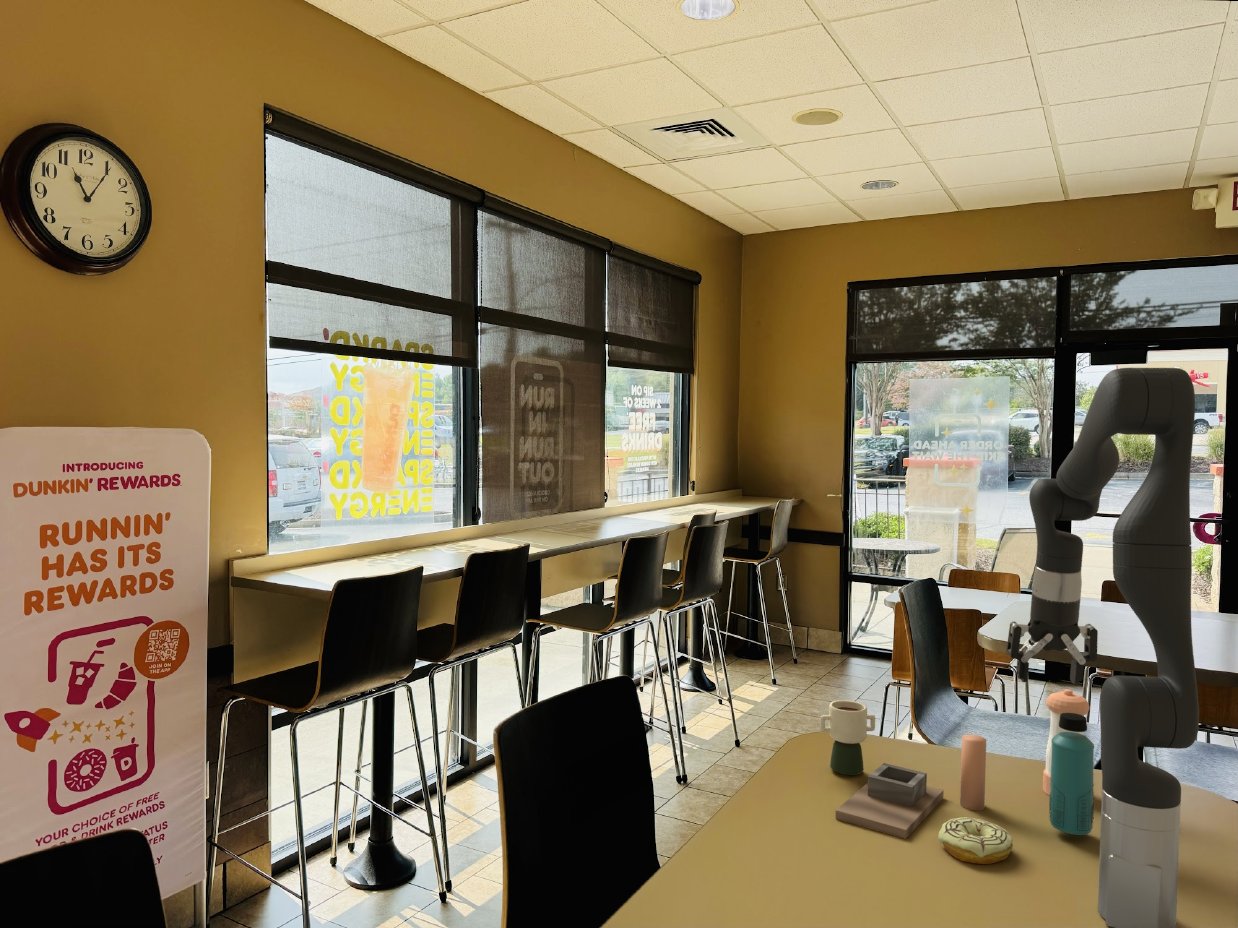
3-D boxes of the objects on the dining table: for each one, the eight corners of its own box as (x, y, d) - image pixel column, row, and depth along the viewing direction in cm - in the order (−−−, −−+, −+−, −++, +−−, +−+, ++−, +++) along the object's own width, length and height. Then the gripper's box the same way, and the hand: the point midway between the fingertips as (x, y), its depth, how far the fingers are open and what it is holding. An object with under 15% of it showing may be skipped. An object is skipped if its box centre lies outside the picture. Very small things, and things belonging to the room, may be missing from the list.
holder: (905, 838, 144) (906, 808, 144) (835, 818, 152) (836, 789, 151) (943, 797, 160) (944, 770, 160) (878, 781, 168) (878, 755, 167)
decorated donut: (926, 848, 142) (926, 825, 141) (962, 830, 148) (963, 807, 148) (988, 874, 134) (988, 850, 133) (1023, 853, 140) (1024, 830, 140)
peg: (980, 812, 155) (982, 744, 154) (957, 806, 157) (959, 739, 157) (987, 804, 158) (989, 737, 157) (963, 798, 160) (965, 732, 160)
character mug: (867, 764, 176) (868, 699, 176) (881, 778, 169) (882, 710, 168) (813, 765, 175) (814, 700, 175) (824, 779, 168) (826, 712, 168)
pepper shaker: (1093, 793, 163) (1097, 690, 162) (1077, 804, 158) (1081, 698, 157) (1052, 781, 168) (1055, 681, 167) (1036, 792, 163) (1039, 688, 163)
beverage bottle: (1098, 846, 142) (1102, 723, 142) (1053, 841, 144) (1057, 719, 143) (1085, 828, 149) (1089, 710, 148) (1042, 824, 150) (1046, 707, 149)
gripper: (1020, 599, 150) (1013, 689, 153) (1109, 601, 149) (1100, 692, 152) (1006, 585, 158) (999, 671, 161) (1090, 587, 156) (1083, 674, 159)
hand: (1048, 681), depth 156 cm, fingers open, 8 cm apart
